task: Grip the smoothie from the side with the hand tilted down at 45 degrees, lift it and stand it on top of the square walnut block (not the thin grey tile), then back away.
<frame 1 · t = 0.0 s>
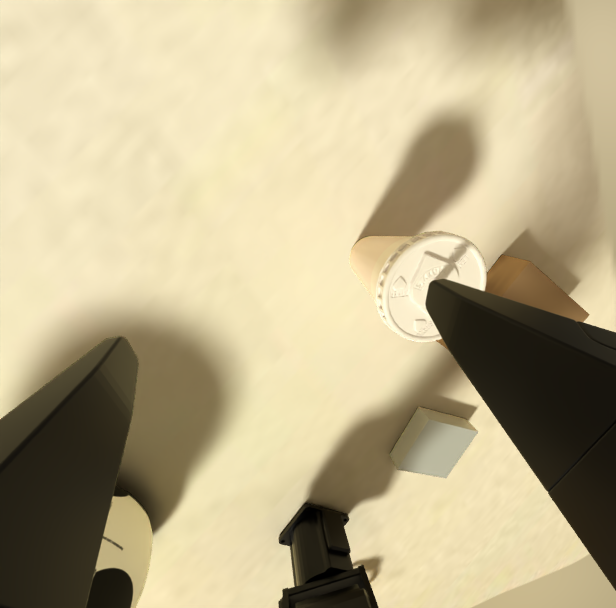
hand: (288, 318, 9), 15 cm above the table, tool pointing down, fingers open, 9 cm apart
grey tile: (427, 436, 34), on the table
milk container: (68, 517, 29), on the table
smoothie: (369, 257, 25), on the table
walnut block: (498, 321, 30), on the table
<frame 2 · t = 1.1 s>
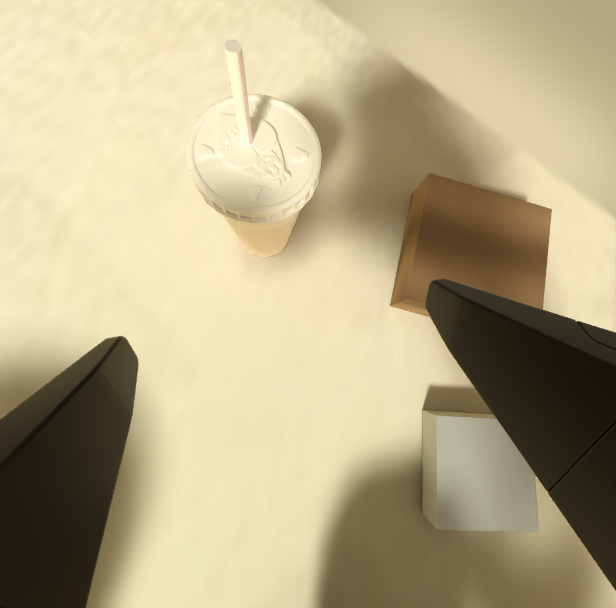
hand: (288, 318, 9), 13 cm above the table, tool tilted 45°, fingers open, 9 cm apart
grey tile: (467, 462, 22), on the table
smoothie: (265, 235, 23), on the table
walnut block: (458, 264, 24), on the table
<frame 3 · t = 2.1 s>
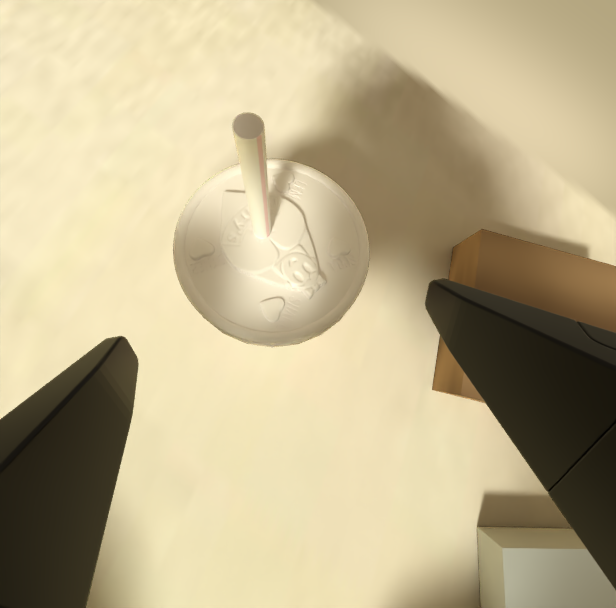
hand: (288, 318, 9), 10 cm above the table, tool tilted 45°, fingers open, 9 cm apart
grey tile: (536, 595, 17), on the table
smoothie: (277, 303, 19), on the table
walnut block: (512, 333, 20), on the table
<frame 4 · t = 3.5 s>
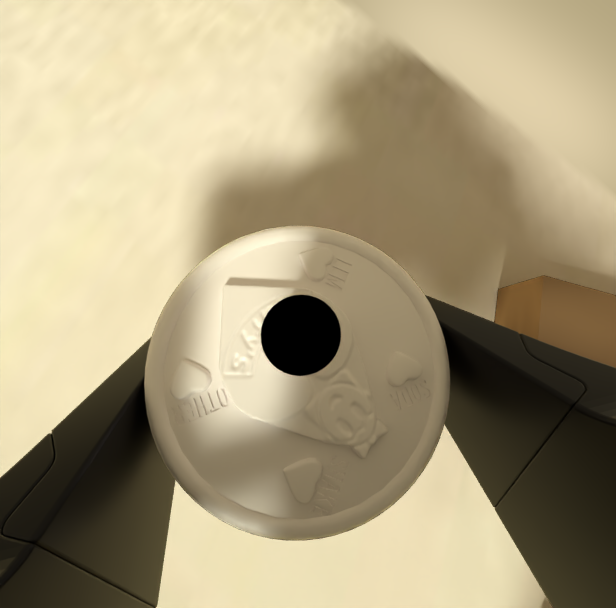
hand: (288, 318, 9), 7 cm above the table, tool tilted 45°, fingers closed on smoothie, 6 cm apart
smoothie: (289, 360, 16), on the table, touching gripper
walnut block: (570, 394, 17), on the table
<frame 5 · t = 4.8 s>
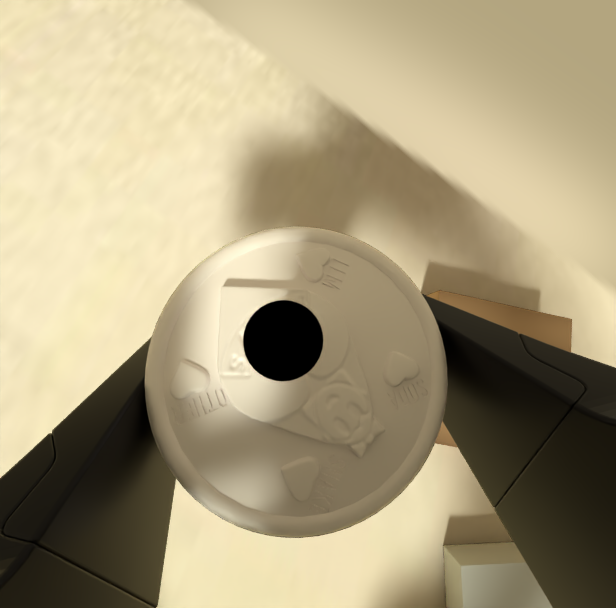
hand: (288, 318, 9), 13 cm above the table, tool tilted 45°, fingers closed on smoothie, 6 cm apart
grey tile: (494, 600, 20), on the table
smoothie: (291, 359, 16), point 6 cm above the table, touching gripper
walnut block: (472, 373, 23), on the table
when the fingers open (11 cm above the table, at t = 6.7 s): smoothie stays where it is, resting on walnut block.
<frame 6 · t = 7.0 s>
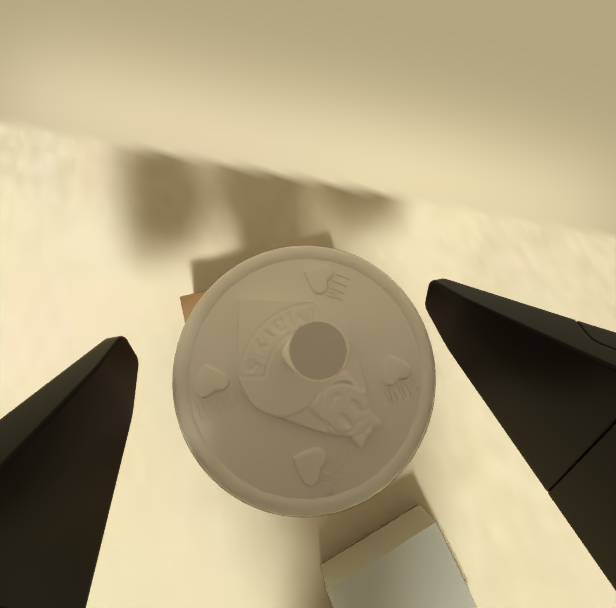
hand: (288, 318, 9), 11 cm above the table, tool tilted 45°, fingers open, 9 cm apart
grey tile: (397, 591, 18), on the table
smoothie: (291, 362, 16), point 3 cm above the table, touching walnut block
walnut block: (287, 359, 19), on the table
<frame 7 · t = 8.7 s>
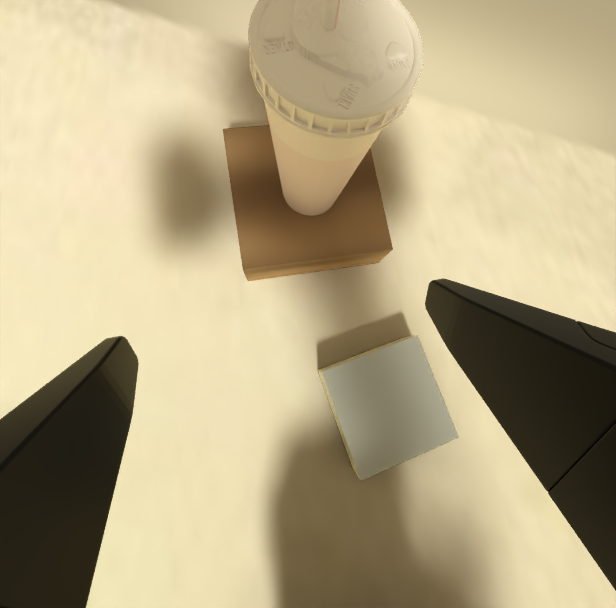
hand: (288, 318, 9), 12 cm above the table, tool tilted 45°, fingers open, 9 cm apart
grey tile: (379, 399, 21), on the table
smoothie: (309, 191, 20), point 3 cm above the table, touching walnut block
walnut block: (303, 210, 23), on the table
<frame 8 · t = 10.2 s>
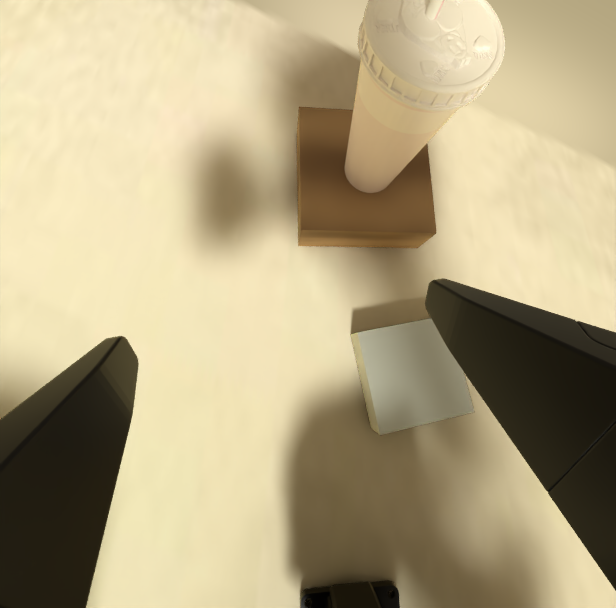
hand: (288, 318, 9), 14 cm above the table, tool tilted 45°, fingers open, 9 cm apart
grey tile: (403, 370, 22), on the table
smoothie: (367, 172, 22), point 3 cm above the table, touching walnut block
walnut block: (356, 191, 25), on the table
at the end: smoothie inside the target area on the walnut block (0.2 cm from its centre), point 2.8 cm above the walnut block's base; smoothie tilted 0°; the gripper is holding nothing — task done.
